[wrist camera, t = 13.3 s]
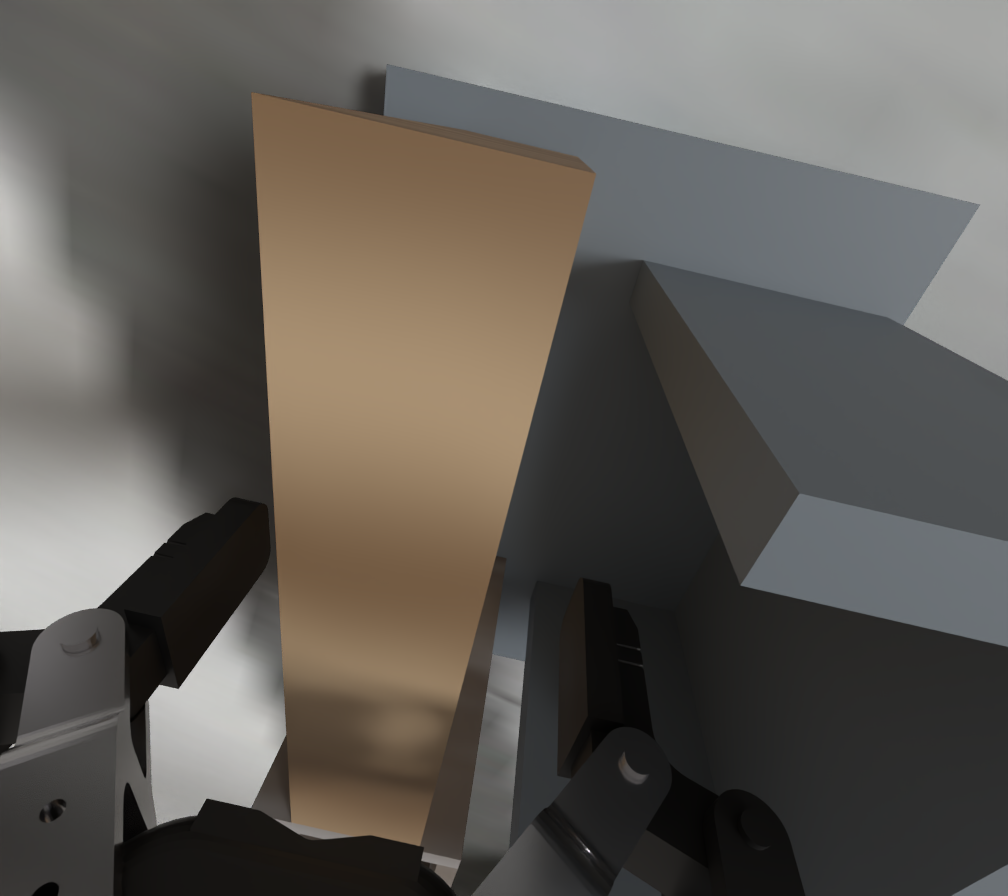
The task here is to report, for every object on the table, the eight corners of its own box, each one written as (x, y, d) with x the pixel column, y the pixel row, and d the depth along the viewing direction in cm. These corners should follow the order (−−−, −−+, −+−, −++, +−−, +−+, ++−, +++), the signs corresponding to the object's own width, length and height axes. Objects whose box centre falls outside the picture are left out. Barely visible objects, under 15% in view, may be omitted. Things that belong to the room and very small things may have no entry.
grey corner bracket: (663, 665, 25) (734, 1060, 14) (364, 597, 24) (206, 944, 14) (941, 199, 14) (2268, 381, 3) (403, 71, 14) (-208, -212, 3)
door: (484, 637, 23) (434, 931, 14) (372, 611, 23) (254, 891, 14) (615, 166, 13) (710, 200, 4) (417, 118, 13) (112, 59, 4)
